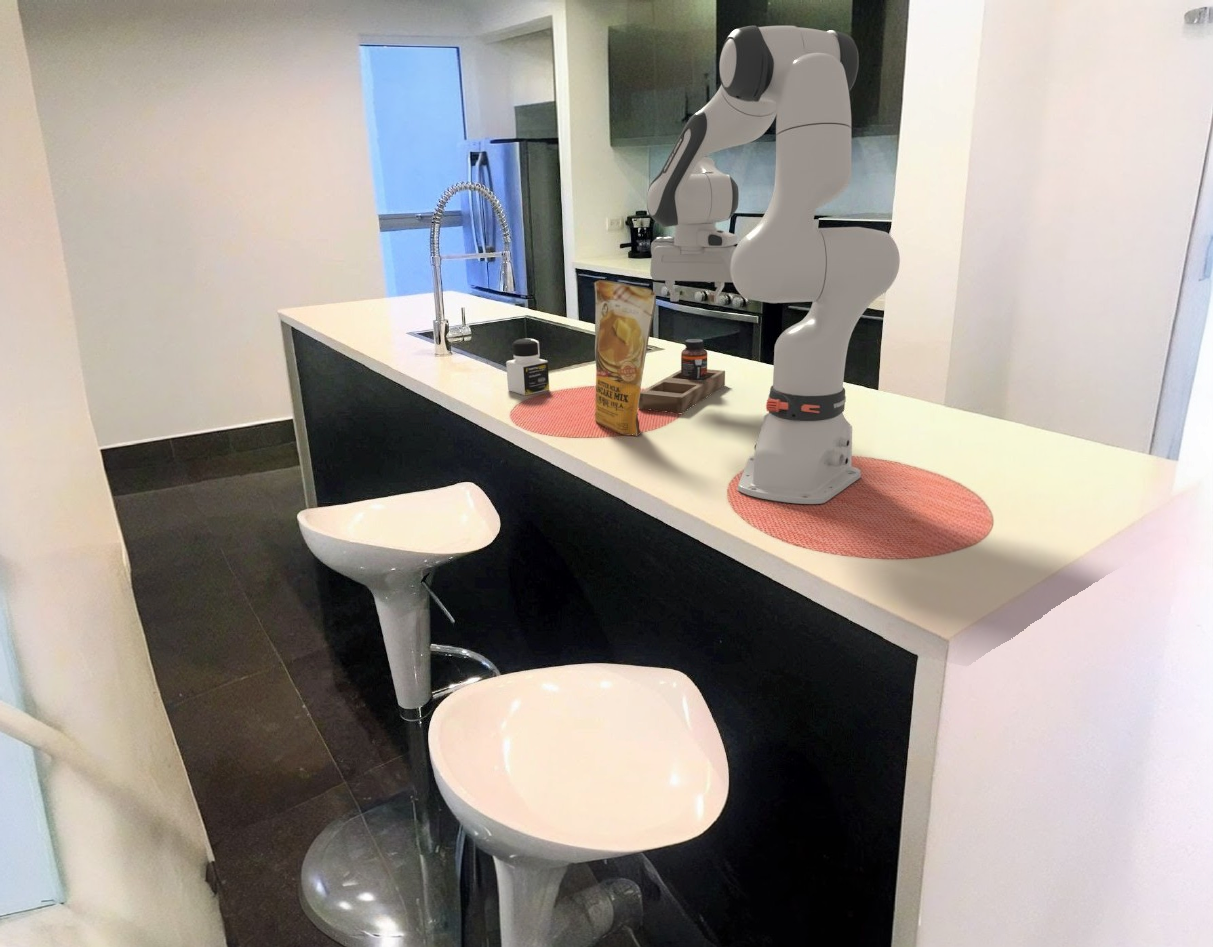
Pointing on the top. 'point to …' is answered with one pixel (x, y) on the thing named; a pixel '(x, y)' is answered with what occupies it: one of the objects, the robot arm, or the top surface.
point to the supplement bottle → (694, 361)
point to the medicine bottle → (527, 368)
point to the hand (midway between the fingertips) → (694, 301)
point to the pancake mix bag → (620, 352)
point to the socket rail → (680, 392)
